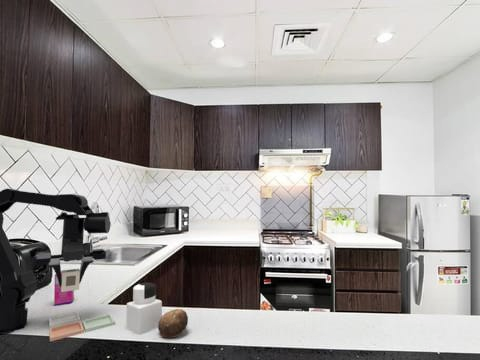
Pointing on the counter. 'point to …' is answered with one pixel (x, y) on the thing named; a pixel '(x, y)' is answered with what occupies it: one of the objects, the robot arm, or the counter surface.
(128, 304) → the medicine bottle
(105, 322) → the tray sage
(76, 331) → the tray terracotta
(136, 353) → the counter surface
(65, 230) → the robot arm
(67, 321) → the tray grey
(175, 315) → the brown potato
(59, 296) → the supplement box
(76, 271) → the letter block
